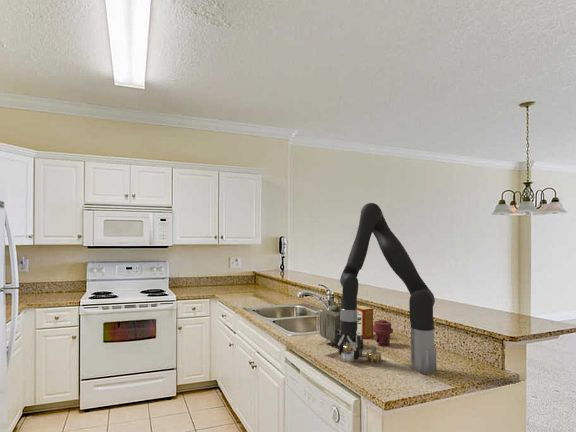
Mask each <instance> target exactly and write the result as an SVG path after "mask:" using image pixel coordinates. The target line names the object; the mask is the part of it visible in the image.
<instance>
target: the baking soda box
mask: <svg viewBox="0 0 576 432" xmlns="http://www.w3.org/2000/svg"><path fill="white" fill-rule="evenodd" d="M357 315H358V317H357V332H356V333H357V335H362V336H363V340H367V339H373V338H374V332H373V327H374V308H372V307H368V306H365V305H357Z"/></svg>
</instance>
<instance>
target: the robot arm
mask: <svg viewBox="0 0 576 432" xmlns="http://www.w3.org/2000/svg"><path fill="white" fill-rule="evenodd" d="M372 234H373V235H374V237H375V238H376V240H377V244H378V246H379V249H380V251H381V253H382V255H383V256H384V259H385V260H386V262H387V263H388V265H389V267H390V268H391V270H392V271H393V272H394V273H395V275H397V277H399V279H400V280H401V281H402V282H403V283H404V285H405V286H406V288H407V291H408V292H409V294H410V297H409V302H408V303H409V304H408V305H409V306H408V308H409V322H410V323H409V324H410V368H411V369H412V370H413V371H417V372H419V374H420V375H421V374H423V375H428V376H429V375H432V374H434V373H436V372H437V371H438V370H437V348H436V347H435V323H434V321H435V320H434V304H435V303H436V300H435V298H436V297H435V296H434V293H433V292H432V291H431V289H430V288H429V287H428V285H427V284H426V283H425V281H424V280H423V279H422V277H421V276H420V274H419V272H418V270H417V268H416V266H415V264H414V263H413V261H412V259H411V257H410V255H409V253H408V252H407V250H406V249H405V247H404V245H403V244H402V243H401V241H400V240H399V238H398V237H397V236H396V235H395V233H394V232H393V231H392V230H391V229H390V227H389V225H388V222H387V221H386V219H385V217H384V213H383V211H382V209H381V207H380V206H379V205H378V204H376V203H374V202H369V203H368V202H367V203H365V204H364V205H363V206H362V207H361V210H360V216H359V223H358V227H357V231H356V235H355V238H354V241H353V244H352V246H351V250H350V252H349V255H348V259H347V262H346V264H345V266H344V269H343V271H342V273H341V275H340V278H339V281H340V285H341V287H342V296H341V297H340V310H341V312H340V329H341V330H340V329H338V330H336V331H335V342H334V343H335V344H337V346H338V351H339V354H340V355H341V354H342V352H343V351H344V345H343V344H344V343H345V342H348V343H350V344H351V346H353V348H354V359H358V358H359V350H361V349H362V350H364V339H363V336H362V335H357V333H356V332H357V317H358V315H357V306H358V299H357V298H358V292H359V280H358V275H359V272H360V270H361V271H362V268H363V266H364V263H365V260H366V258H367V254H368V251H369V250H368V249H369V246H370V241H371V237H372ZM341 336H342V337H341Z"/></svg>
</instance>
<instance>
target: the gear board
mask: <svg viewBox="0 0 576 432" xmlns="http://www.w3.org/2000/svg"><path fill="white" fill-rule="evenodd" d="M346 346H350V343H348V342H346ZM371 351H372V354H376V352H377V347H376V345H372V346H371ZM324 356H325V357H327V358H331V359H334V360H336V361H339V362H342V363H345V364H348V365H351V366H354V367H356V368H360V369H366V368H369V367H371V366H375V365H378V364H381V363H384V362H386V361H387V360H385V359H382V358H381V362H379V363H376V362H373V363H372V362H370V361H367V353H363V349H361V350H359V358H358V359H356V360H355V361H354V362H346V361H343V360H342V359H341V358H342V354H341V355H340V354H339V350H338V351H335V352H332V353H328V354H324Z"/></svg>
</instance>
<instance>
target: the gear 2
mask: <svg viewBox="0 0 576 432" xmlns="http://www.w3.org/2000/svg"><path fill="white" fill-rule="evenodd" d="M366 355H367V361H370V362H372V363H373V362H376V363H378V364H380V363H379V362H381V359H382V352H378V351H376V354H372V350H371V351H367V352H366ZM381 363H382V362H381Z"/></svg>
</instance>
